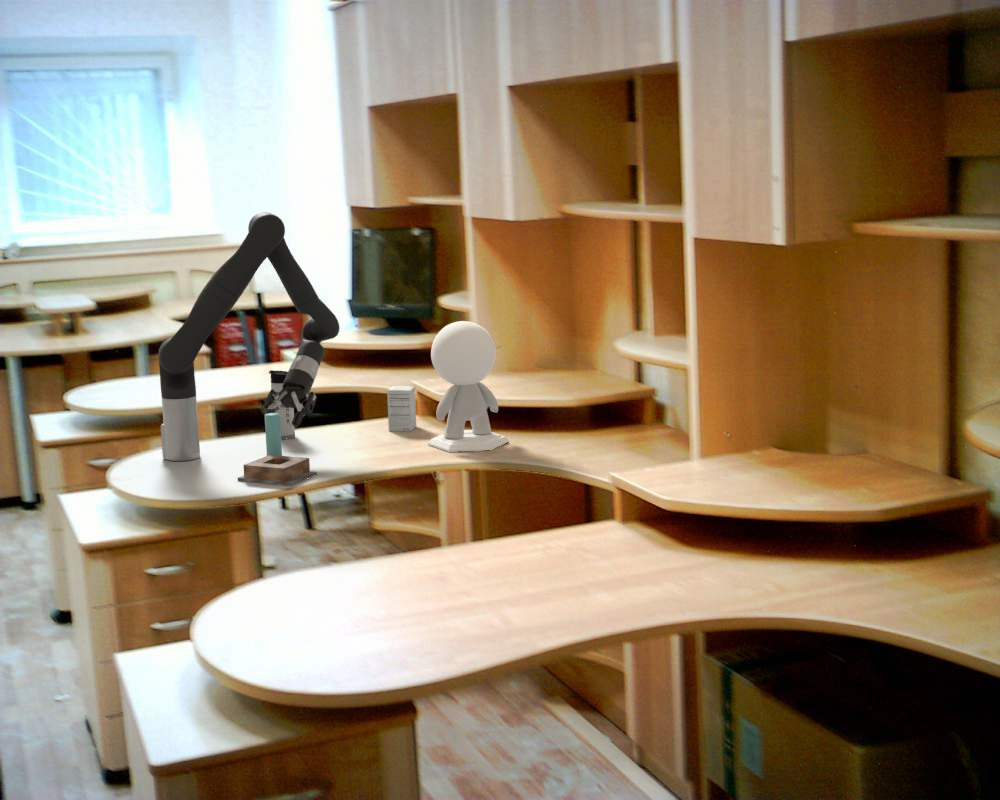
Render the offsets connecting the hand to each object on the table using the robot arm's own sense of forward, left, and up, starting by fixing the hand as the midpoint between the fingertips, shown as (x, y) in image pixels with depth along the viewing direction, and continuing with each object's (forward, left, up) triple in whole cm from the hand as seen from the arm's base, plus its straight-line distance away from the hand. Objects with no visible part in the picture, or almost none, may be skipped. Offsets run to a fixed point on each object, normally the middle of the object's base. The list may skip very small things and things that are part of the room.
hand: (280, 424), depth 336 cm
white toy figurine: (+38, +37, -11) cm, 54 cm away
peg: (0, -4, -11) cm, 11 cm away
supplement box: (+10, +50, -11) cm, 52 cm away
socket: (+8, -15, -11) cm, 20 cm away
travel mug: (-18, +28, -11) cm, 35 cm away
